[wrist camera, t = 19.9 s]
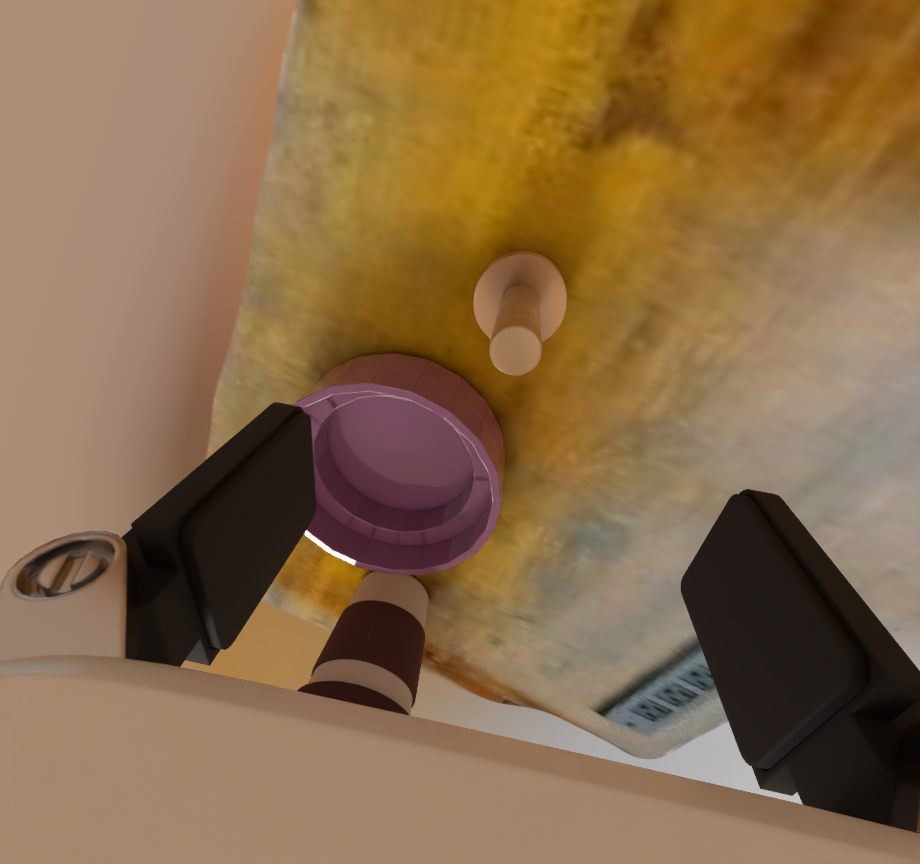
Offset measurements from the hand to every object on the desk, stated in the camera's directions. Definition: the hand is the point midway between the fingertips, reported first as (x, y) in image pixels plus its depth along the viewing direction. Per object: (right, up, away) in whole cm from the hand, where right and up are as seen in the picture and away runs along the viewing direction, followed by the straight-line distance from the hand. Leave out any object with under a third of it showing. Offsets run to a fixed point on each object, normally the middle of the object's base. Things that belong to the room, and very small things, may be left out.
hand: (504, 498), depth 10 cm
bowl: (-6, 0, +24) cm, 25 cm away
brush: (+3, +10, +17) cm, 20 cm away
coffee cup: (-8, -15, +34) cm, 38 cm away
